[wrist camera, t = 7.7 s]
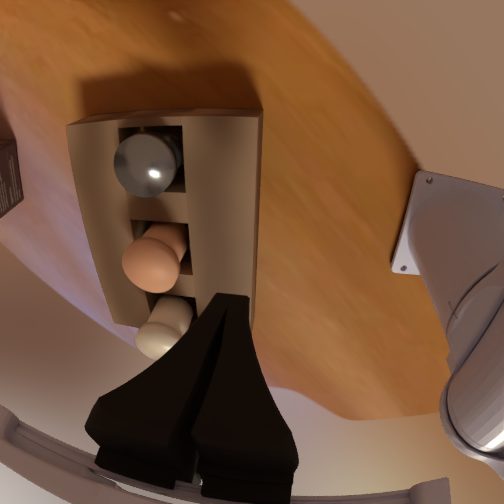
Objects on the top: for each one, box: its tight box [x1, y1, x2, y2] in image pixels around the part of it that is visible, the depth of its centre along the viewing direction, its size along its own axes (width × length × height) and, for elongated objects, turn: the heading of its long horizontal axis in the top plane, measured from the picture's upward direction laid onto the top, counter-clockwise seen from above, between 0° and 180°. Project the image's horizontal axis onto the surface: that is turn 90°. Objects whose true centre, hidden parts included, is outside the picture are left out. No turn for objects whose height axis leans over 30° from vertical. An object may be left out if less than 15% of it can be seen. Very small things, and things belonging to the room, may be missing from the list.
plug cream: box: [135, 295, 193, 361], centre depth 22 cm, size 4×4×4 cm
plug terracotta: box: [122, 221, 190, 293], centre depth 20 cm, size 4×4×4 cm
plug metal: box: [113, 125, 184, 198], centre depth 17 cm, size 4×4×4 cm
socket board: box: [66, 108, 263, 334], centre depth 21 cm, size 12×17×3 cm
